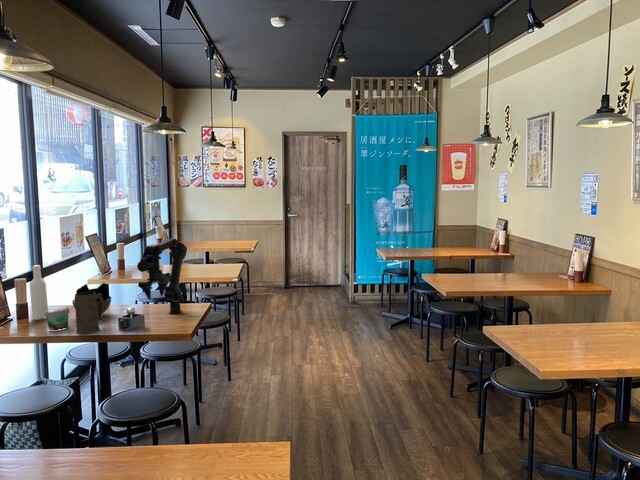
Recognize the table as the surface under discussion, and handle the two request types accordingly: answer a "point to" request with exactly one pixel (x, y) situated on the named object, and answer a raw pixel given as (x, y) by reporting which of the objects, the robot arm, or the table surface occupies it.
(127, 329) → the press body
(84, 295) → the beer stein
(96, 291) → the coal bowl
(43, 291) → the bottle
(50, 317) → the food container
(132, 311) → the plunger
